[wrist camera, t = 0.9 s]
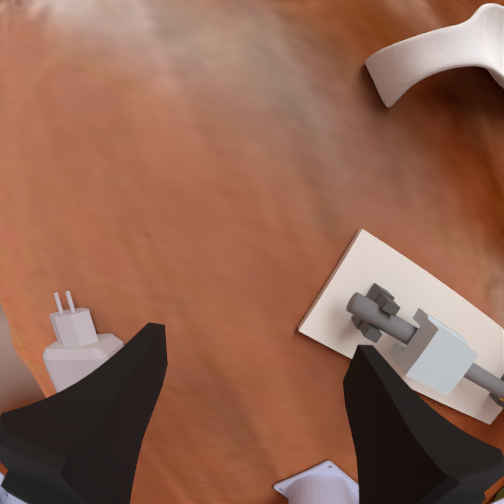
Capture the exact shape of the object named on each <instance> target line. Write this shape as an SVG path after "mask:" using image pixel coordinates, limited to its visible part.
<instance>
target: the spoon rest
mask: <svg viewBox="0 0 504 504" xmlns="http://www.w3.org/2000/svg"><path fill="white" fill-rule="evenodd" d="M365 63H366V67H367V69H368V71H369V73H370V75H371V77H372V79H373V81H374V84H375V86H376V88H377V90H378V92H379V95H380V97H381V99H382V101H383V102H384V104H385V105H386V107H388V108H390V107H392V105H393V104H394V103H395V102H396V101H397V100H398V99H399V98H400V97H401V96H402V95H403V94H404V93H405V92H406V91H407V90H408V89H409V88H410V87H411V86H413V85H414V84H415V83H417V82H419V81H420V80H422V79H424V78H426V77H428V76H430V75H433V74H435V73H438V72H441V71H445V70H448V69H453V68H458V67H466V66H478V67H483V68H486V69H487V70H488V72H489V73H490V74H491V76H492V77H493V78H494V79H495V81H496V82H497V83H498V84H499V85H500V86H501V87H502V88H503V89H504V7H503V6H501V5H498V4H492V3H490V4H484V5H482V6H480V7H479V8H478V9H477V11H476V12H475V13H474V15H473V16H472V17H471V18H470V19H469V20H467V21H465V22H463V23H461V24H458V25H454V26H450V27H445V28H441V29H437V30H434V31H430V32H427V33H424V34H421V35H418V36H415V37H412V38H409V39H406V40H403V41H400V42H398V43H395V44H393V45H390V46H388V47H386V48H383V49H381V50H379V51H378V52H376V53H374V54H373V55H371V56H370V57H369V58H368V59H367V60H366V62H365Z"/></svg>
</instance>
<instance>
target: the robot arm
mask: <svg viewBox="0 0 504 504" xmlns="http://www.w3.org/2000/svg"><path fill="white" fill-rule="evenodd" d="M167 365H168V363H167V350H166V335H165V325H162V324H156V323H150V322H149V323H148V324H146V325H145V326H144V327H143V328H142V329H141V330H140V331H139V332H138V333H137V334H136V335H135V336H134V337H133V338H132V339H131V340H130V341H129V342H128V343H126V344H125V345H124V346H123V347H122V348H121V349H120V350H119V351H118V352H116V353H115V354H114V355H113V356H112V357H111V358H109V359H108V360H107V361H106V362H104V363H103V364H102V365H101V366H99V367H98V368H97V369H95V370H94V371H93V372H91V373H90V374H88V375H87V376H86V377H84V378H83V379H81V380H79V381H78V382H76V383H75V384H73V385H71V386H69V387H68V388H66V389H64V390H62V391H60V392H58V393H56V394H54V395H52V396H50V397H48V398H46V399H44V400H41V401H38V402H36V403H33V404H31V405H28V406H25V407H22V408H19V409H15V410H12V411H9V412H4V413H2V414H1V416H0V462H1V463H2V464H3V465H4V466H5V467H6V468H7V469H8V472H7V474H6V476H4V475H3V474H2V473H0V504H130V498H131V492H132V486H133V480H134V475H135V470H136V465H137V461H138V456H139V452H140V448H141V443H142V440H143V437H144V434H145V431H146V428H147V425H148V423H149V420H150V417H151V415H152V412H153V410H154V407H155V404H156V402H157V399H158V396H159V394H160V391H161V388H162V385H163V381H164V377H165V373H166V369H167ZM343 387H344V398H345V406H346V410H347V415H348V419H349V424H350V428H351V433H352V437H353V442H354V446H355V451H356V457H357V468H358V484H359V485H358V484H357V483H356V482H355V481H353V480H352V479H351V478H350V477H349V476H347V475H346V474H345V473H344V472H343V471H342V470H340V469H339V468H338V467H337V466H336V465H335V464H334V463H332V462H331V461H325V462H323V463H321V464H319V465H317V466H314V467H312V468H310V469H308V470H306V471H304V472H302V473H300V474H297V475H295V476H293V477H291V478H288V479H286V480H284V481H281V482H279V483H277V484H275V485H274V489H275V490H277V491H278V492H280V493H281V494H283V495H284V496H285V497H287V498H288V504H482V502H483V501H485V499H486V497H485V495H484V492H485V491H486V490H487V489H489V488H490V487H491V486H492V485H493V484H495V483H496V482H497V481H498V480H499V479H500V478H501V477H502V476H503V475H504V456H503V454H502V451H501V450H500V449H498V448H496V447H494V446H491V445H489V444H487V443H484V442H482V441H480V440H478V439H476V438H475V437H473V436H471V435H469V434H467V433H466V432H464V431H462V430H461V429H459V428H458V427H456V426H455V425H453V424H452V423H450V422H449V421H448V420H446V419H445V418H444V417H442V416H441V415H440V414H438V413H437V412H436V411H435V410H434V409H432V408H431V407H430V406H429V405H428V404H427V403H426V402H424V401H423V400H422V399H421V398H420V397H419V396H418V395H417V394H416V393H415V392H414V391H413V390H412V389H411V388H410V387H409V386H408V385H407V384H406V382H405V381H404V380H403V379H402V378H401V377H400V376H399V375H398V374H397V372H396V371H395V370H394V369H393V368H392V367H391V366H390V364H389V363H388V362H387V361H386V360H385V359H384V357H383V356H382V355H381V354H380V353H379V352H378V351H377V349H376V348H375V347H374V346H373V345H359V344H358V345H357V348H356V351H355V353H354V356H353V358H352V361H351V363H350V366H349V368H348V370H347V373H346V375H345V378H344V380H343ZM491 504H504V498H502V499H500V500H498V501H495V502H493V503H491Z"/></svg>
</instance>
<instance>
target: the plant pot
mask: <svg viewBox="0 0 504 504" xmlns="http://www.w3.org/2000/svg"><path fill="white" fill-rule="evenodd" d="M502 498H504V487H503V488H501V489H500V491H499V492H498V493H497V494H496V497H495V499H494V502H495V501H498V500H500V499H502Z"/></svg>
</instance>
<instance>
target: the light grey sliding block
mask: <svg viewBox="0 0 504 504" xmlns="http://www.w3.org/2000/svg"><path fill="white" fill-rule="evenodd" d="M413 319H414V320H415V321H416V322H417V323H418V324H419V325H420V327H419V329H418V330H417V332H416V333H415V335H414V336H413V337H412V339H411V340H410V342H409V343H408V345H407V346H406V347H403V346H401V345H399V344H398V343H396V342H395V344H394V345H393V347H392V348H391V349H390V351H389V354H390V355H391V357H392V359H393V360H394V362H395V363H396V364H398V365H400V367H401V369H402V370H403V372H404V373H405V375H406V376H408V377H410V378H412V379H414V380H416V381H418V382H420V383H422V384H424V385H426V386H428V387H430V388H432V389H434V390H436V391H438V392H440V393H442V394H444V395H446V396H448V395H449V394H450V393H451V392H452V390H453V389H454V388H455V386H456V385H457V384H458V383H459V381H460V380H461V379H462V377H463V376H464V375H465V373H466V372H467V370H468V369H469V368H470V366H471V365H472V363H473V362H474V361H475V359H476V358H477V356H478V354H477V353H476V352H475V351H474V350H473V349H472V348H471V347H470V346H469V345H467V344H466V343H467V340H465V339H464V338H463V337H462V336H461V335H460V334H459V333H457V332H456V331H454V330H453V329H451V328H450V327H448V326H447V325H445V324H444V323H442V322H441V321H439V320H438V319H436V318H435V317H433V316H431V315H430V314H428V313H427V312H425V311H424V310H422V309H421V308H418V310H417V311H416V313H415V314H414V316H413Z"/></svg>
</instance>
